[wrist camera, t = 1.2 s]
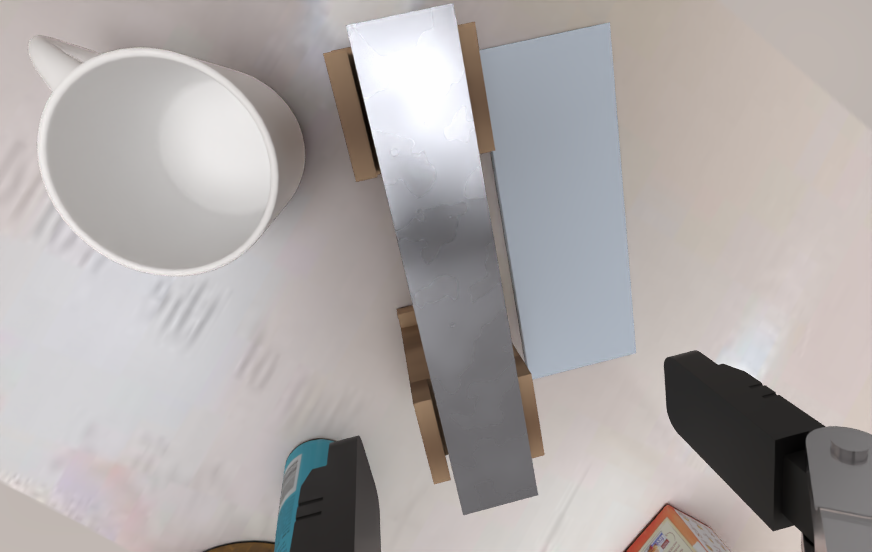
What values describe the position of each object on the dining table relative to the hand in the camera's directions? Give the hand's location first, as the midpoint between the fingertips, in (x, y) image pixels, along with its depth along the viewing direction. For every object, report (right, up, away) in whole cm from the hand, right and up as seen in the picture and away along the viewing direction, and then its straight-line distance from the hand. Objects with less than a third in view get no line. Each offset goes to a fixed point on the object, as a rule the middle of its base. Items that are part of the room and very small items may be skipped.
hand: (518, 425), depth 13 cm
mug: (-15, +12, +16) cm, 25 cm away
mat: (+6, +8, +20) cm, 23 cm away
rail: (-2, +4, +12) cm, 13 cm away
